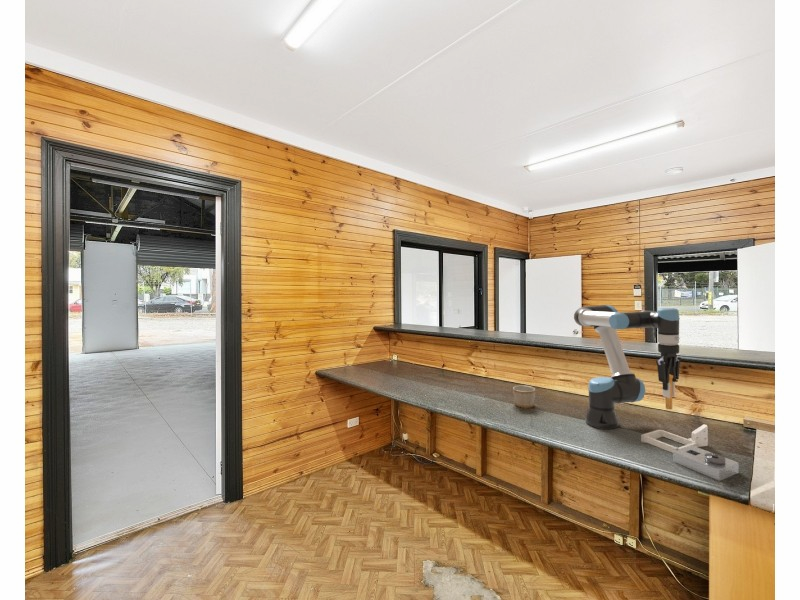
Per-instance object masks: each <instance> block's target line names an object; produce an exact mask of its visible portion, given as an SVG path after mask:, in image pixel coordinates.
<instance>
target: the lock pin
mask: <svg viewBox="0 0 800 600" xmlns="http://www.w3.org/2000/svg"><path fill="white" fill-rule="evenodd" d="M672 378H673V375H671V374H669V383H670V398H667V397H665V409H666V410H673V396H672Z"/></svg>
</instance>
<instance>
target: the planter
mask: <svg viewBox="0 0 800 600" xmlns="http://www.w3.org/2000/svg"><path fill="white" fill-rule="evenodd" d="M512 391H513V398H514V405H515V406H516V407H518V408H520V407H521V409H531V408H533V407H534V405H535V398H536V397H535V396H536V388H535V387H533V386H530V385H525V384H524V385H515V386H513V387H512Z"/></svg>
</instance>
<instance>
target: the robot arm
mask: <svg viewBox="0 0 800 600" xmlns="http://www.w3.org/2000/svg"><path fill="white" fill-rule="evenodd" d="M573 319H574V322H575V323H576V324H577V325H579V327H580V326H581V327H585V328H586V327H588V328H589V327H590V328H593V329H594V332H596V333H598V335H599V338H600V341H601V345H602V347H603V350H604V354H605V357H606V359H607V363H608V366H609V370H610V373H611V376H610V377H609V376H597V377H593V378H591V379H590V380H589V381H588V387H587V388H588V409H587V412H586V415H585V423H586V424H587V425H588V424H589V426H590V425H591V426H590V427H593V426H594V427H593V428H596V427H597V429H601V428H602V429H603V430H613V429H617V428H618V427H620V426H619V425H620V424H619V422H620V421H619V418H618V417H617V414H616V410H615V404H625V403H631V404H633V403H637V402H640V401H642V400H643V399H644V397H645V395H646V386H645V384H644V382H643V381H642V380H641V379H640V378H637V377H636V375H635V373H634V372H632V371H631V370H630V368H629V364H628V361H627V358H626V355H625V352H624V349H623V348H622V344H621V340H620V339H619V335H618V333H617V330H628V329H642V328H643V329H645V328H653V329H657V343H658V344H657V351H658V353H660V357H659V359H656V360H655V362H656V365H657V375H658V376H657V377H658V381H659V382H661V383H662V397H665V398H666V397H667V398H670V383H669V374H671V375H673V378H672V398H673V397H674V398H675V397H676V389H675V388H676V383H678V380H679V379H680V369H681V368H680V367H681V360H682V357H680V356H678V355H677V354H679V353H680V345H679V344H680V313H679V310H678V309H677V308H670V307H663V308H662V307H661V308H658V309H657V311H653V310H641V311H632V312H631V311H629V312H628V311H627V312H623V311H622V312H621V311H620V312H618V310H617V309H616V308H615V307H614V306H613V305H609V304H607V305H606V304H603V305H602V304H601V305H588V306H587V305H586V306H581V307H579V308H578V309H577V310H576V311H575V312H574V314H573Z"/></svg>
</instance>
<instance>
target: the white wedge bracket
mask: <svg viewBox="0 0 800 600" xmlns="http://www.w3.org/2000/svg"><path fill="white" fill-rule="evenodd" d="M708 429H709V427H708V425H707V424H704V423H703V424H702V425H701V426H698V427H697V428H696V429H695V430H693V431H691V437H690V438H687V439H689V440H692V441H695V442H697V443H698V448H700V447H708V446H709V445H708V443H709V440H708V439H709V437H708V434H709V431H708Z"/></svg>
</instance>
